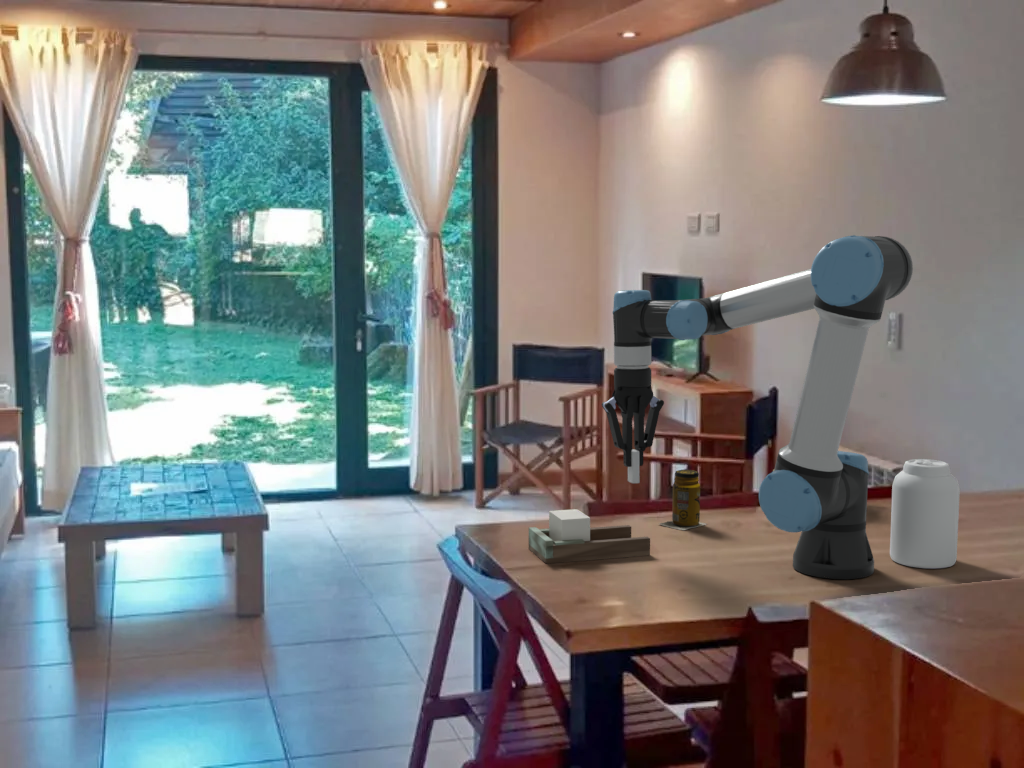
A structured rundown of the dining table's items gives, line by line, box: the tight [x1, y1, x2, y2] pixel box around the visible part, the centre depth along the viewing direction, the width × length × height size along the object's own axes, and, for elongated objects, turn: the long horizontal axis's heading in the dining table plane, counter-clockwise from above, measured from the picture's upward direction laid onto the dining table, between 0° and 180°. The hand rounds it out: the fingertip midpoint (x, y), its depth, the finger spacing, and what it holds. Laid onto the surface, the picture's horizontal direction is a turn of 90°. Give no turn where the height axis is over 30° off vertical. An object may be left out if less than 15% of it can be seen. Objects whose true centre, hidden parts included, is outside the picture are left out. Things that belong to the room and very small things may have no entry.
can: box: [889, 458, 961, 570], centre depth 235 cm, size 12×12×20 cm
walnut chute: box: [528, 524, 651, 565], centre depth 243 cm, size 12×22×4 cm, turn 106°
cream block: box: [548, 508, 591, 541], centre depth 241 cm, size 8×6×7 cm
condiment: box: [659, 469, 707, 531], centre depth 265 cm, size 7×8×12 cm
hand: (633, 481), depth 244 cm, fingers closed
